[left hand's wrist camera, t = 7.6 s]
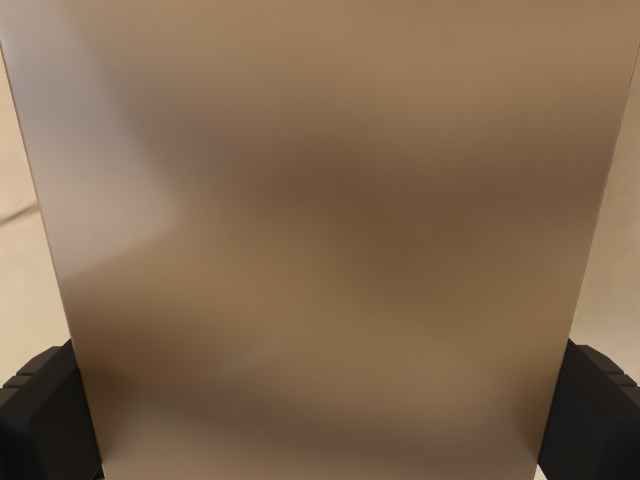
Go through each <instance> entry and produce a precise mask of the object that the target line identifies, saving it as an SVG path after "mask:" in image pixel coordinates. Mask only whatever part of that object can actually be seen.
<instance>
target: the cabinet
mask: <svg viewBox="0 0 640 480" xmlns="http://www.w3.org/2000/svg"><path fill="white" fill-rule="evenodd" d="M639 46H640V0H0V49H1V53H2V58H3V62H4V66H5V70H6V74H7V78H8V82H9V86H10V90H11V94H12V98H13V103H14V107H15V111H16V115H17V119H18V123H19V127H20V131H21V135H22V139H23V144H24V148H25V152H26V156H27V160H28V164H29V168H30V172H31V176H32V180H33V184H34V189H35V193H36V197H37V201H38V205H39V209H40V213H41V217H42V221H43V225H44V229H45V234H46V238H47V242H48V246H49V250H50V254H51V258H52V262H53V266H54V270H55V275H56V279H57V283H58V287H59V291H60V295H61V299H62V303H63V307H64V311H65V315H66V320H67V324H68V328H69V332H70V336H71V340H72V344H73V348H74V352H75V356H76V361H77V365H78V369H79V373H80V377H81V381H82V385H83V389H84V393H85V397H86V401H87V406H88V410H89V414H90V418H91V422H92V426H93V430H94V434H95V438H96V442H97V447H98V451H99V455H100V459H101V463H102V467H103V471H104V475H105V479H106V480H534V476H535V472H536V468H537V464H538V460H539V456H540V452H541V448H542V443H543V439H544V435H545V431H546V427H547V423H548V419H549V415H550V411H551V407H552V402H553V398H554V394H555V390H556V386H557V382H558V378H559V374H560V370H561V366H562V361H563V357H564V353H565V349H566V345H567V341H568V337H569V333H570V329H571V325H572V321H573V316H574V312H575V308H576V304H577V300H578V296H579V292H580V288H581V284H582V280H583V275H584V271H585V267H586V263H587V259H588V255H589V251H590V247H591V243H592V239H593V235H594V230H595V226H596V222H597V218H598V214H599V210H600V206H601V202H602V198H603V194H604V189H605V185H606V181H607V177H608V173H609V169H610V165H611V161H612V157H613V153H614V149H615V144H616V140H617V136H618V132H619V128H620V124H621V120H622V116H623V112H624V108H625V103H626V99H627V95H628V91H629V87H630V83H631V79H632V75H633V71H634V67H635V63H636V58H637V54H638V50H639Z"/></svg>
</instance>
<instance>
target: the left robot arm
mask: <svg viewBox="0 0 640 480" xmlns="http://www.w3.org/2000/svg"><path fill="white" fill-rule="evenodd" d="M101 464H102V463H101V459H100V455H99V451H98V447H97V442H96V438H95V434H94V430H93V426H92V422H91V418H90V414H89V410H88V406H87V401H86V397H85V393H84V389H83V385H82V381H81V377H80V373H79V369H78V365H77V361H76V356H75V352H74V348H73V344H72V340H71V338H70V339H69V340H68V341H67V342H66V343H65V344H64V345H63V346H53V347H51V348H49V349H48V350H46V351H44V352H42V353H41V354H39V355H37V356H36V357H34V358H32V359H31V360H30V361H29V362H28V363H27V364H25V365H24V366H23V367H22V368H21V369H20V370H19V371H18V372H17V373H16V376H12V377H11V378H10V379H9V380H8V381H7V382H6V383H5V384H4V385H3V388H0V480H92V479H93V478H94V476H95V474H96V472H97V471H98V469H99V467H100V466H101ZM538 465H539V466H540V468H541V470H542V471H543V473H544V475H545V477H546V478H547V480H640V387H638V386H637V383H636V382H635V381H634V380H632V379H631V378H630V377H629V376H628V375H627V374H624V371H623V370H622V369H620V368H619V367H618V366H617V365H616V364H615V363H614V362H613V361H612V360H611V359H610V358H608V357H607V356H605V355H603V354H602V353H600V352H598V351H596V350H595V349H593V348H591V347H590V346H588V345H576V344H574V343H573V342H572V341H571V340H570V339H569V338H568V341H567V345H566V349H565V353H564V357H563V361H562V366H561V370H560V374H559V378H558V382H557V386H556V390H555V394H554V398H553V402H552V407H551V411H550V415H549V419H548V423H547V427H546V431H545V435H544V439H543V443H542V448H541V452H540V456H539V460H538Z"/></svg>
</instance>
